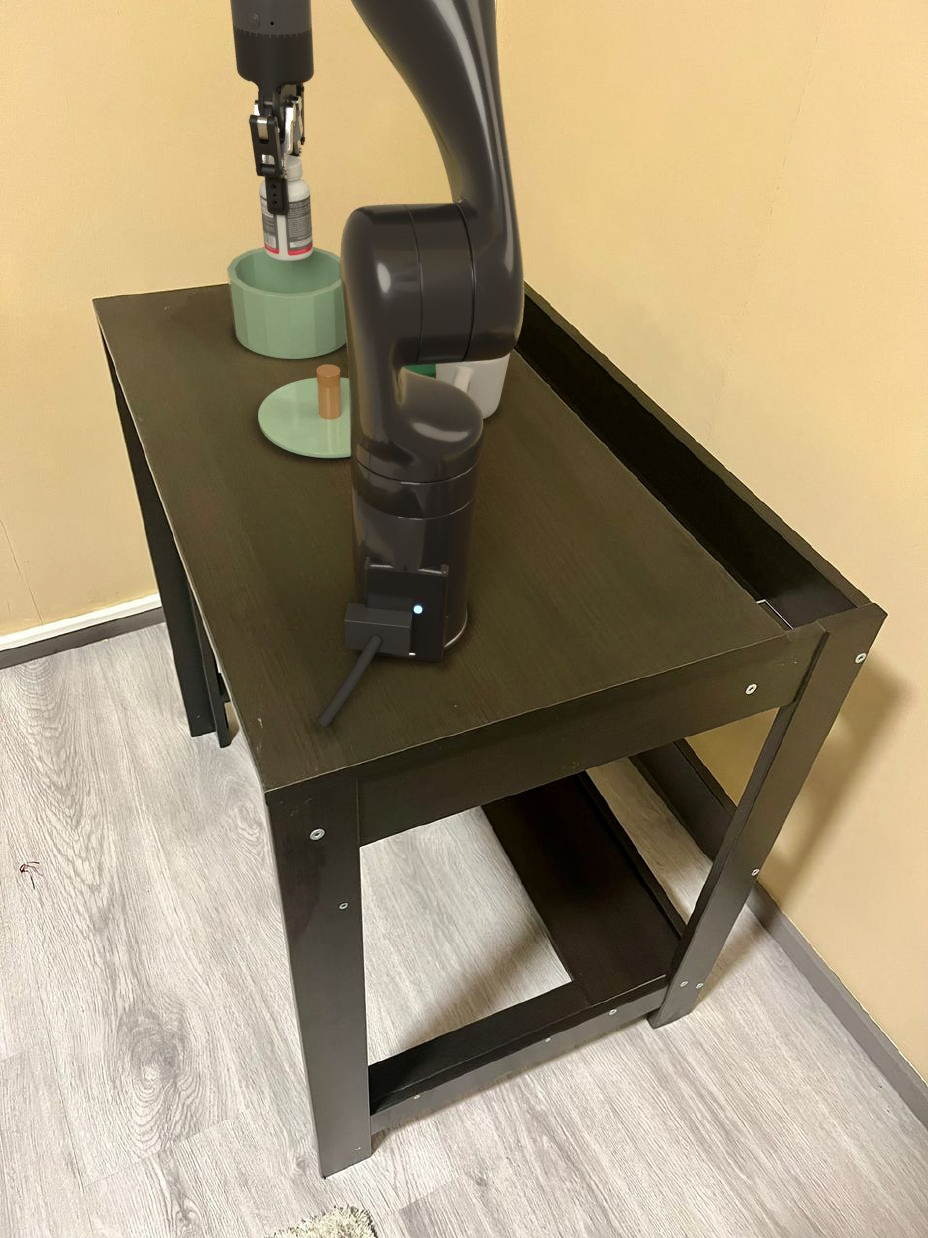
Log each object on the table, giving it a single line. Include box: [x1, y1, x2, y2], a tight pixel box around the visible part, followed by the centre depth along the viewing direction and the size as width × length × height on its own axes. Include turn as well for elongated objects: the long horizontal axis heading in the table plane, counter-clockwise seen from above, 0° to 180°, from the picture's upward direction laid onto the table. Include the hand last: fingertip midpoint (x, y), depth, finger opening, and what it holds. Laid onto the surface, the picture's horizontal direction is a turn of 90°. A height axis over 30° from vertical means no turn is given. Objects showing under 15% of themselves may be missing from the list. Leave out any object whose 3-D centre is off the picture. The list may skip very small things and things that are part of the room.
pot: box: [226, 246, 346, 360], centre depth 106 cm, size 14×14×8 cm
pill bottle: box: [258, 155, 314, 261], centre depth 99 cm, size 5×5×10 cm
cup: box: [436, 352, 511, 420], centre depth 95 cm, size 11×8×8 cm
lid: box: [257, 363, 351, 459], centre depth 93 cm, size 15×15×6 cm
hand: (285, 202), depth 98 cm, fingers closed on pill bottle, 5 cm apart
